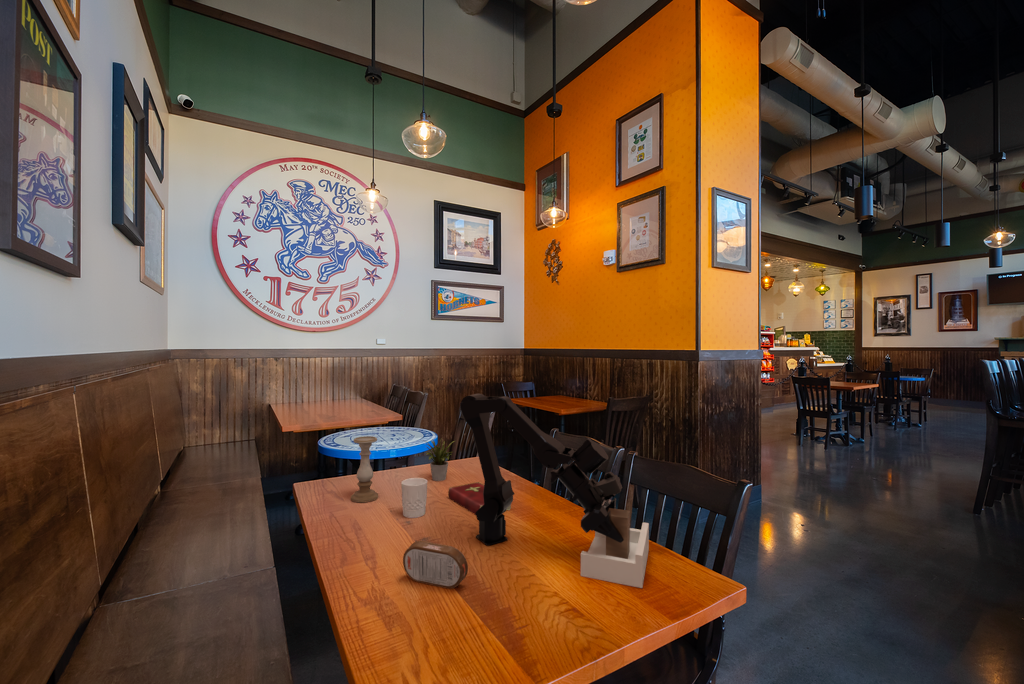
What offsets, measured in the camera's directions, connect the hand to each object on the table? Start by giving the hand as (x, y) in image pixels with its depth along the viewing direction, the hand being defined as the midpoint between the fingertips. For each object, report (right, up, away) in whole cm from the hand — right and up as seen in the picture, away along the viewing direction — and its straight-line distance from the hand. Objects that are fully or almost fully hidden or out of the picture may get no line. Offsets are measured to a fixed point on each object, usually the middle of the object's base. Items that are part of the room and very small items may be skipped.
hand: (623, 536), depth 106 cm
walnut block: (-1, -5, 0) cm, 5 cm away
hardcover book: (-38, -7, +39) cm, 55 cm away
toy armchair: (-1, -7, 0) cm, 7 cm away
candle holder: (-77, -6, +43) cm, 88 cm away
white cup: (-57, -6, +30) cm, 65 cm away
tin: (-44, -6, -9) cm, 46 cm away
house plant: (-57, -7, +65) cm, 87 cm away
